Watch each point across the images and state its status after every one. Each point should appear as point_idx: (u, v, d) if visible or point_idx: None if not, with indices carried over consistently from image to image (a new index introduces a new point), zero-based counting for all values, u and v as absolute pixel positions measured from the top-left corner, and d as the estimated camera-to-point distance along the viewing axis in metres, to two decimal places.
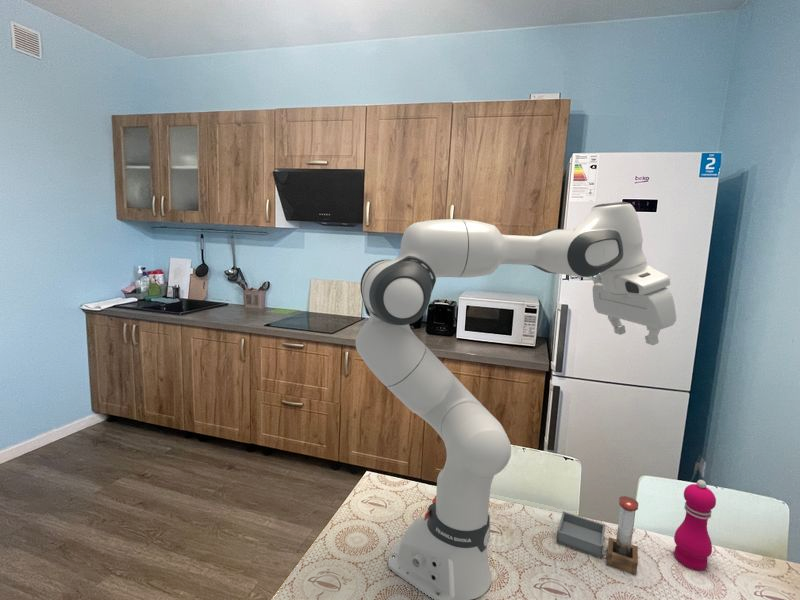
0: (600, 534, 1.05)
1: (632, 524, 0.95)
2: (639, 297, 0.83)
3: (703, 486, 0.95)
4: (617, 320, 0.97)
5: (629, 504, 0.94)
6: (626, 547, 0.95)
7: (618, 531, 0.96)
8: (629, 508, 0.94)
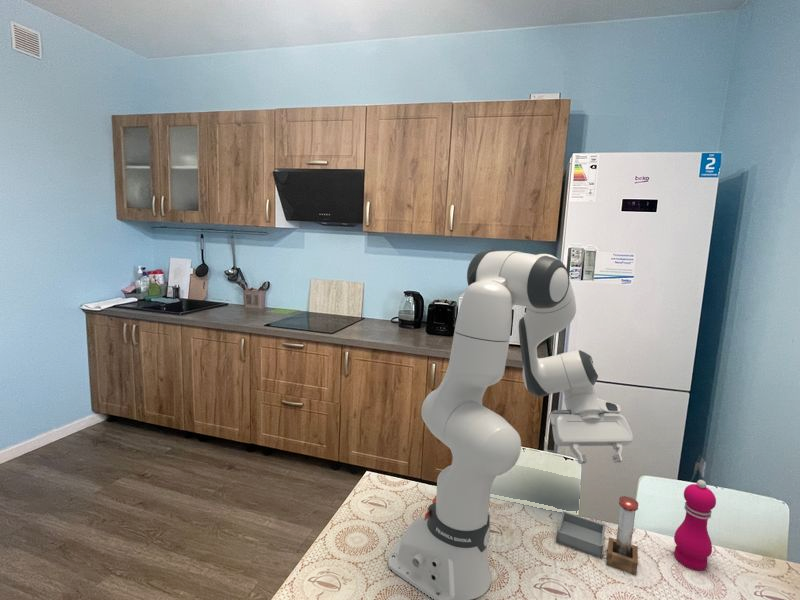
0: (600, 534, 1.05)
1: (632, 524, 0.95)
2: (616, 415, 1.12)
3: (703, 486, 0.95)
4: None
5: (629, 504, 0.94)
6: (626, 547, 0.95)
7: (618, 531, 0.96)
8: (629, 508, 0.94)
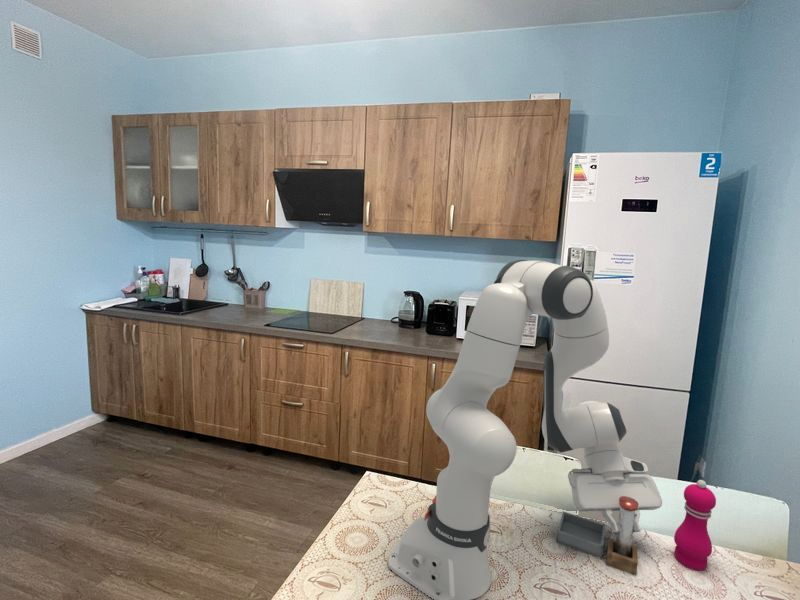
0: (600, 534, 1.05)
1: (632, 524, 0.95)
2: (642, 475, 1.01)
3: (703, 486, 0.95)
4: None
5: (629, 504, 0.94)
6: (626, 547, 0.95)
7: None
8: (629, 508, 0.94)
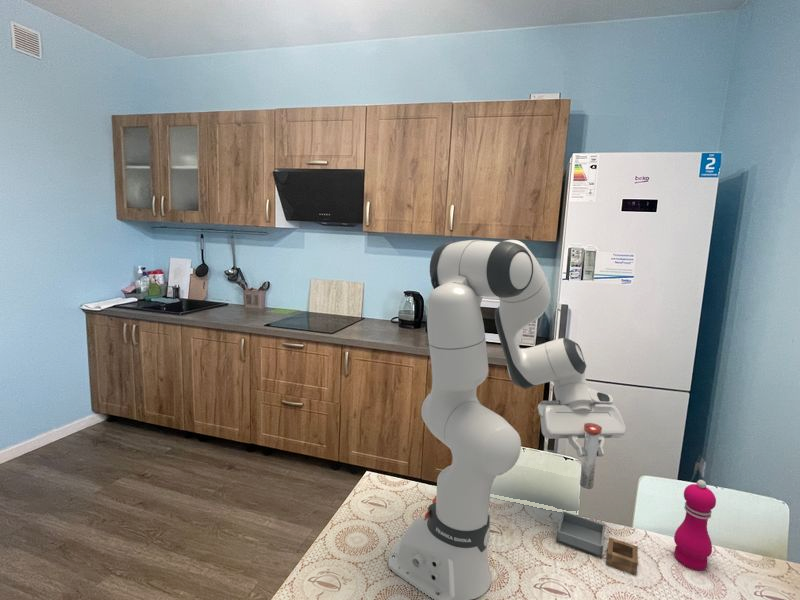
0: (600, 534, 1.05)
1: (596, 447, 0.99)
2: (607, 406, 1.06)
3: (703, 486, 0.95)
4: None
5: (593, 428, 0.99)
6: (590, 470, 1.00)
7: None
8: (592, 431, 0.98)
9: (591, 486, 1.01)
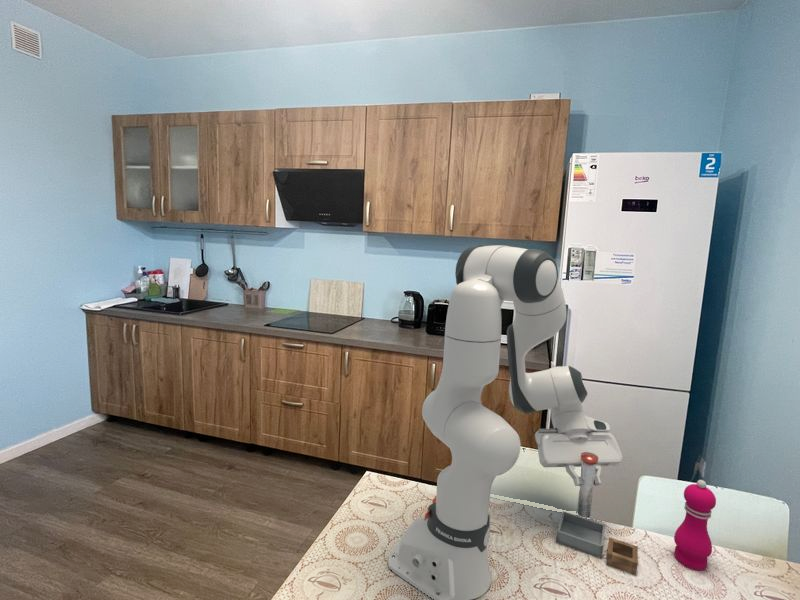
0: (600, 534, 1.05)
1: (592, 477, 1.01)
2: (604, 434, 1.07)
3: (703, 486, 0.95)
4: None
5: (589, 458, 1.00)
6: (587, 499, 1.01)
7: None
8: (589, 462, 1.00)
9: (588, 515, 1.02)
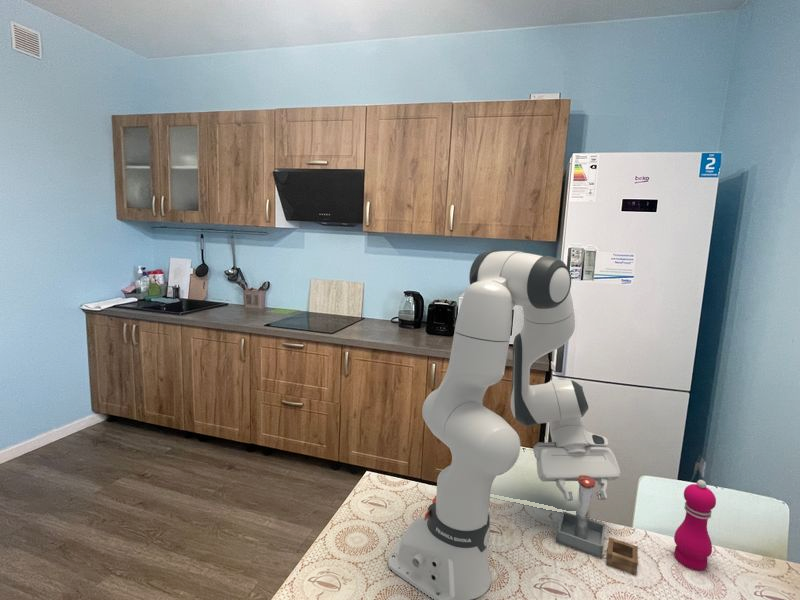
0: (600, 534, 1.05)
1: (590, 500, 1.01)
2: (602, 448, 1.07)
3: (703, 486, 0.95)
4: None
5: (587, 482, 1.01)
6: (584, 522, 1.02)
7: (577, 507, 1.03)
8: (586, 485, 1.00)
9: (585, 537, 1.03)
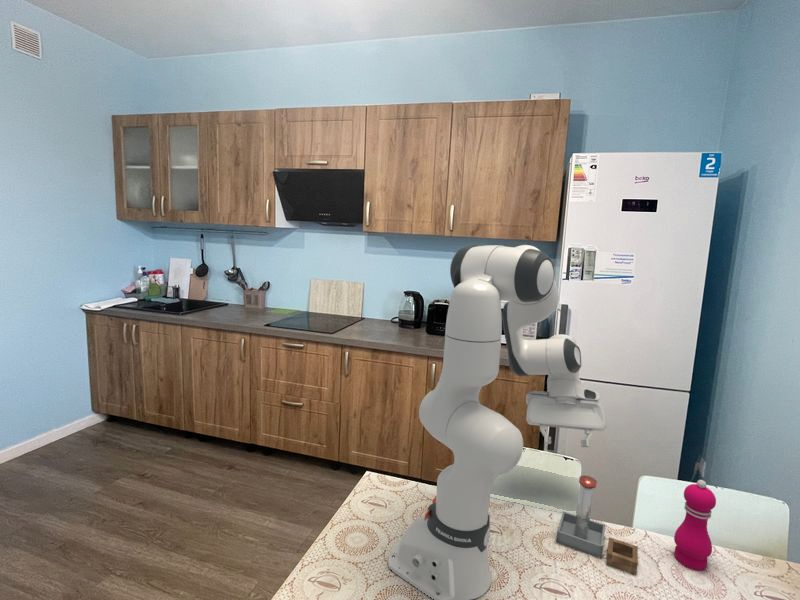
0: (600, 534, 1.05)
1: (590, 501, 1.01)
2: (592, 402, 1.14)
3: (703, 486, 0.95)
4: None
5: (588, 482, 1.01)
6: (584, 523, 1.02)
7: (578, 507, 1.03)
8: (587, 486, 1.00)
9: (585, 538, 1.03)
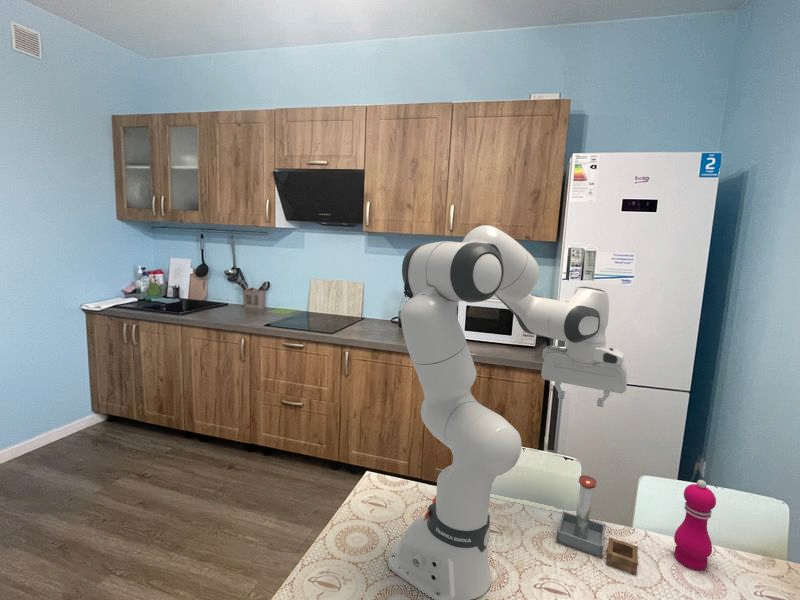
0: (600, 534, 1.05)
1: (590, 501, 1.01)
2: (613, 366, 1.03)
3: (703, 486, 0.95)
4: (559, 386, 1.13)
5: (587, 482, 1.01)
6: (584, 523, 1.02)
7: (578, 507, 1.03)
8: (587, 486, 1.00)
9: (585, 538, 1.03)
